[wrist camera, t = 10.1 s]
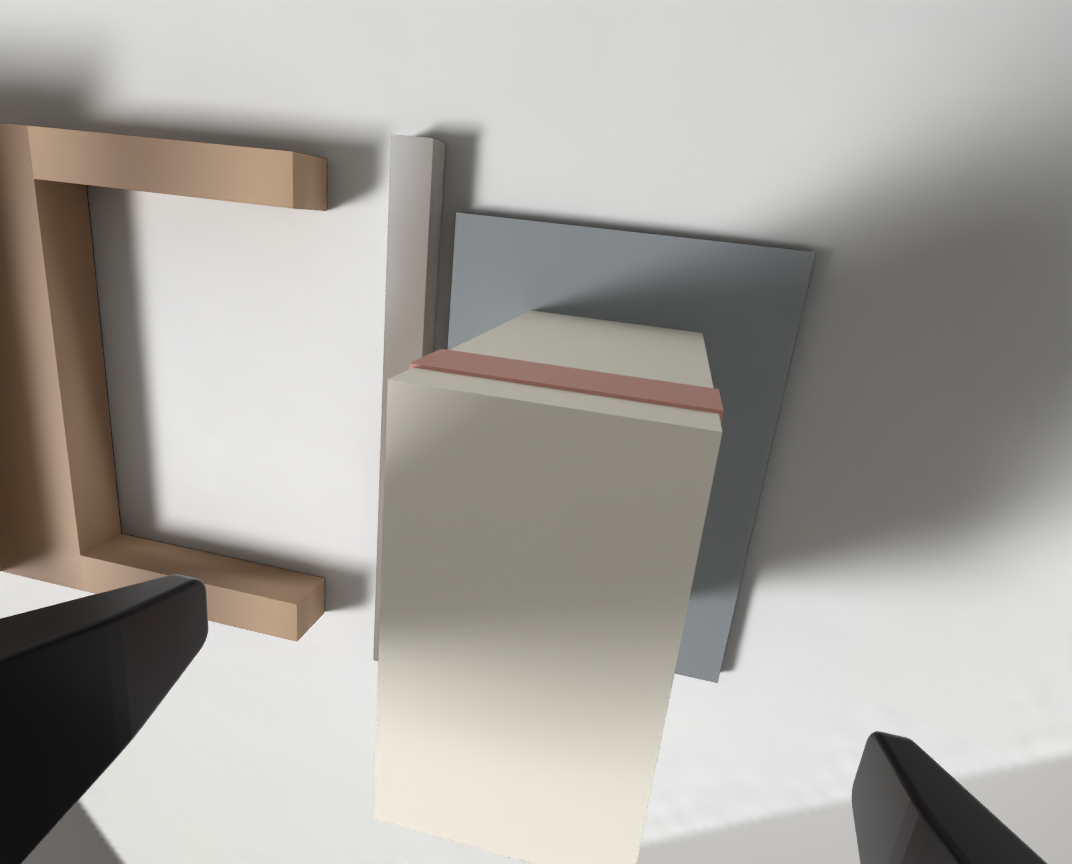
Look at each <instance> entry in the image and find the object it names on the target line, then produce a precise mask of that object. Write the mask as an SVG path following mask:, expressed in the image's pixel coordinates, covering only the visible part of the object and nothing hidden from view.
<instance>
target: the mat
mask: <svg viewBox="0 0 1072 864" xmlns="http://www.w3.org/2000/svg"><path fill="white" fill-rule="evenodd" d="M815 254H816V252H811V251H802V250H793V249H783V248H774V247H765V246H756V245H747V244H738V243H729V242H720V241H711V240H702V239H693V238H684V237H675V236H666V235H657V234H647V233H638V232H629V231H620V230H611V229H602V228H593V227H584V226H575V225H566V224H557V223H548V222H539V221H530V220H521V219H511V218H502V217H493V216H484V215H475V214H466V213H457V212H456V223H455V239H454V255H453V270H452V286H451V302H450V318H449V333H448V349H447V350H450V349H452V348H454V347H456V346H458V345H460V344H462V343H464V342H466V341H469V340H471V339H473V338H475V337H477V336H479V335H481V334H483V333H485V332H487V331H489V330H491V329H493V328H495V327H497V326H500V325H502V324H504V323H506V322H508V321H510V320H512V319H514V318H516V317H518V316H520V315H522V314H524V313H526V312H528V311H531V310H532V311H539V312H547V313H554V314H562V315H570V316H577V317H585V318H592V319H600V320H608V321H615V322H623V323H630V324H638V325H646V326H653V327H661V328H669V329H676V330H684V331H691V332H699V333H703V338H704V343H705V348H706V353H707V358H708V363H709V368H710V373H711V378H712V383H713V388H715V389H719V392H720V397H721V401H722V405H723V410H724V412H723V417H722V422H721V427H722V437H721V442H720V447H719V452H718V457H717V462H716V467H715V472H714V477H713V482H712V487H711V492H710V497H709V502H708V507H707V512H706V517H705V522H704V527H703V532H702V537H701V542H700V547H699V552H698V557H697V562H696V567H695V572H694V577H693V582H692V587H691V592H690V597H689V602H688V607H687V612H686V617H685V622H684V627H683V632H682V637H681V642H680V647H679V653H678V658H677V663H676V668H675V674H680V675H684V676H689V677H693V678H698V679H702V680H706V681H711V682H715V683H718V679H719V674H720V670H721V665H722V661H723V657H724V652H725V648H726V644H727V639H728V635H729V630H730V626H731V622H732V617H733V613H734V608H735V604H736V600H737V595H738V591H739V587H740V582H741V578H742V573H743V569H744V565H745V560H746V556H747V552H748V547H749V543H750V538H751V534H752V530H753V525H754V521H755V517H756V512H757V508H758V503H759V499H760V495H761V490H762V486H763V481H764V477H765V473H766V468H767V464H768V460H769V455H770V451H771V446H772V442H773V438H774V433H775V429H776V425H777V420H778V416H779V411H780V407H781V403H782V398H783V394H784V389H785V385H786V381H787V376H788V372H789V368H790V363H791V359H792V354H793V350H794V346H795V341H796V337H797V333H798V328H799V324H800V319H801V315H802V311H803V306H804V302H805V298H806V293H807V289H808V284H809V280H810V276H811V271H812V267H813V262H814V258H815Z"/></svg>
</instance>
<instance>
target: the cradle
mask: <svg viewBox="0 0 1072 864" xmlns="http://www.w3.org/2000/svg"><path fill="white" fill-rule="evenodd" d="M445 146H446V143H444V142H442V141H439V140H437V139H434V138H426V137H415V136H404V135H393V134H391V151H390V180H389V210H388V240H387V270H386V300H385V330H384V360H383V390H382V420H381V450H380V479H379V509H378V539H377V569H376V599H375V629H374V659H373V660H375V661H378V656H379V625H380V595H381V565H382V535H383V504H384V474H385V444H386V414H387V384H388V379H390V378H392V377H394V376H396V375H398V374H400V373H402V372H404V371H406V370H409V367H410V363H411V362H413V361H415V360H418V359H420V358H422V357H424V356H426V355H428V354H431V353H433V352H434V338H435V320H436V303H437V285H438V268H439V250H440V233H441V215H442V198H443V180H444V163H445ZM86 185H93V186H101V187H110V188H119V189H128V190H136V191H145V192H154V193H163V194H171V195H180V196H189V197H198V198H206V199H215V200H224V201H232V202H241V203H250V204H259V205H267V206H276V207H285V208H294V209H308V210H322V211H327V159H325V158H320V157H315V156H311V155H306V154H302V153H297V152H293V151H282V150H272V149H262V148H252V147H242V146H231V145H221V144H211V143H201V142H191V141H180V140H170V139H160V138H150V137H140V136H129V135H119V134H109V133H99V132H89V131H78V130H68V129H58V128H48V127H38V126H27V125H17V124H7V123H0V571H3V572H7V573H11V574H16V575H20V576H24V577H28V578H32V579H37V580H41V581H45V582H49V583H53V584H58V585H62V586H66V587H70V588H74V589H79V590H83V591H87V592H91V593H95V594H99V593H102V592H106V591H110V590H114V589H118V588H122V587H126V586H130V585H133V584H137V583H141V582H145V581H149V580H153V579H157V578H161V577H164V576H168V575H173V574H178V575H183V576H188V577H192V578H197V579H200V580H201V581H202V582H203V583H204V585H205V587H206V595H207V613H208V620H209V621H213V622H217V623H221V624H226V625H230V626H234V627H238V628H242V629H247V630H251V631H255V632H259V633H263V634H268V635H272V636H276V637H280V638H284V639H289V640H293V641H298V640H299V639H300V638H301V637H302V636H303V635H304V634H305V633H306V632H307V630H308V629H309V628H310V627H311V626H312V625H313V624H314V623H315V622H316V621H317V620H318V619H319V618H320V617H321V616H322V615H323V614H324V590H325V578H322V577H318V576H313V575H308V574H304V573H299V572H295V571H290V570H286V569H281V568H276V567H272V566H267V565H263V564H258V563H253V562H249V561H244V560H240V559H235V558H231V557H226V556H221V555H217V554H212V553H208V552H203V551H198V550H194V549H189V548H185V547H180V546H176V545H171V544H166V543H162V542H157V541H153V540H148V539H143V538H139V537H134V536H130V535H125V534H121V527H120V517H119V507H118V497H117V487H116V477H115V467H114V457H113V447H112V437H111V427H110V417H109V407H108V397H107V387H106V377H105V367H104V357H103V347H102V337H101V327H100V317H99V307H98V297H97V287H96V277H95V267H94V257H93V247H92V237H91V227H90V217H89V207H88V197H87V187H86Z"/></svg>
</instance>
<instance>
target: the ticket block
mask: <svg viewBox="0 0 1072 864" xmlns="http://www.w3.org/2000/svg"><path fill="white" fill-rule="evenodd" d="M723 412H724V410H723V405H722V401H721V397H720V392H719V389H715V388H713V383H712V378H711V373H710V368H709V363H708V358H707V353H706V348H705V343H704V338H703V333H699V332H691V331H684V330H676V329H669V328H661V327H653V326H646V325H638V324H630V323H623V322H615V321H608V320H600V319H592V318H585V317H577V316H570V315H562V314H554V313H547V312H539V311H532V310H531V311H528V312H526V313H524V314H522V315H520V316H518V317H516V318H514V319H512V320H510V321H508V322H506V323H504V324H502V325H500V326H497V327H495V328H493V329H491V330H489V331H487V332H485V333H483V334H481V335H479V336H477V337H475V338H473V339H471V340H469V341H466V342H464V343H462V344H460V345H458V346H456V347H454V348H452V349H450V350H446V349H439V350H437V351H435V352H433V353H431V354H428V355H426V356H424V357H422V358H420V359H418V360H415V361H413V362H411V363H410V367H409V370H406V371H404V372H402V373H400V374H398V375H396V376H394V377H392V378H390V379H388V384H387V414H386V444H385V474H384V504H383V535H382V565H381V595H380V625H379V656H378V686H377V716H376V746H375V777H374V807H373V819H375V820H378V821H382V822H385V823H389V824H393V825H396V826H400V827H403V828H407V829H410V830H414V831H418V832H421V833H425V834H428V835H432V836H435V837H439V838H442V839H446V840H450V841H453V842H457V843H460V844H464V845H467V846H471V847H475V848H478V849H482V850H485V851H489V852H492V853H496V854H500V855H503V856H507V857H510V858H514V859H517V860H521V861H524V862H528V863H532V864H636V863H637V858H638V853H639V848H640V843H641V838H642V833H643V828H644V823H645V818H646V813H647V808H648V803H649V798H650V793H651V788H652V783H653V778H654V773H655V768H656V763H657V758H658V753H659V748H660V743H661V738H662V733H663V728H664V723H665V718H666V713H667V708H668V703H669V698H670V693H671V688H672V683H673V678H674V673H675V668H676V663H677V658H678V653H679V647H680V642H681V637H682V632H683V627H684V622H685V617H686V612H687V607H688V602H689V597H690V592H691V587H692V582H693V577H694V572H695V567H696V562H697V557H698V552H699V547H700V542H701V537H702V532H703V527H704V522H705V517H706V512H707V507H708V502H709V497H710V492H711V487H712V482H713V477H714V472H715V467H716V462H717V457H718V452H719V447H720V442H721V437H722V427H721V422H722V417H723Z"/></svg>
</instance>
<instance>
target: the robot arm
mask: <svg viewBox="0 0 1072 864" xmlns="http://www.w3.org/2000/svg"><path fill="white" fill-rule="evenodd" d="M207 634H208V613H207V595H206V587H205V585H204V583H203V582H202V581H201V580H200V579H197V578H192V577H188V576H183V575H178V574H173V575H168V576H164V577H161V578H157V579H153V580H149V581H145V582H141V583H137V584H133V585H130V586H126V587H122V588H118V589H114V590H110V591H106V592H102V593H99V594H95V595H91V596H87V597H83V598H79V599H75V600H71V601H68V602H64V603H60V604H56V605H52V606H48V607H44V608H40V609H37V610H33V611H29V612H25V613H21V614H17V615H13V616H9V617H6V618H2V619H0V864H22V862H23V861H24V860H25V859H26V858H27V857H28V856H29V855H30V853H31V852H32V851H33V850H34V849H35V848H36V847H37V846H38V845H39V844H40V842H41V841H42V840H43V839H44V838H45V837H46V836H47V835H48V834H49V832H50V831H51V830H52V829H53V828H54V827H55V826H56V825H57V824H58V822H59V821H60V820H61V819H62V818H63V817H64V816H65V815H66V813H67V812H68V811H69V810H70V809H71V808H72V807H73V806H74V805H75V803H76V802H77V801H78V800H79V799H80V798H81V797H82V796H83V795H84V793H85V792H86V791H87V790H88V789H89V788H90V787H91V786H92V785H93V783H94V782H95V781H96V780H97V779H98V778H99V777H100V776H101V774H102V773H103V772H104V771H105V770H106V769H107V768H108V767H109V766H110V764H111V763H112V762H113V761H114V760H115V759H116V758H117V757H118V756H119V754H120V753H121V752H122V751H123V750H124V749H125V747H126V746H127V745H128V744H129V743H130V742H131V740H132V739H133V738H134V737H135V735H136V734H137V733H138V732H139V730H140V729H141V728H142V727H143V725H144V724H145V723H146V721H147V720H148V719H149V717H150V716H151V715H152V713H153V712H154V711H155V709H156V708H157V707H158V705H159V704H160V703H161V701H162V700H163V699H164V697H165V696H166V695H167V693H168V692H169V691H170V689H171V688H172V687H173V685H174V684H175V683H176V681H177V680H178V679H179V677H180V676H181V675H182V673H183V672H184V671H185V669H186V668H187V667H188V665H189V664H190V663H191V661H192V660H193V659H194V657H195V656H196V655H197V653H198V652H199V651H200V649H201V648H202V646H203V644H204V642H205V640H206V638H207ZM852 808H853V815H854V821H855V829H856V835H857V843H858V850H859V856H860V864H1047V863H1046V862H1045V861H1044V860H1043V859H1042V858H1041V857H1039V856H1038V855H1037V854H1036V853H1035V852H1034V851H1033V850H1032V849H1031V848H1030V847H1028V845H1026V844H1025V843H1024V842H1023V841H1022V840H1021V839H1020V838H1019V837H1018V836H1017V835H1015V834H1014V833H1013V832H1012V831H1011V830H1010V829H1009V828H1008V827H1007V826H1006V825H1004V824H1003V823H1002V822H1001V821H1000V820H999V819H998V818H997V817H996V816H995V815H994V814H992V813H991V812H990V811H989V810H988V809H987V808H986V807H985V806H984V805H983V804H981V803H980V802H979V801H978V800H977V799H976V798H975V797H974V796H973V795H972V794H970V793H969V792H968V791H967V790H966V789H965V788H964V787H963V786H962V785H961V784H960V783H959V782H957V781H956V780H955V779H954V778H953V777H952V776H951V775H950V774H949V773H948V772H946V771H945V770H944V769H943V768H942V767H941V766H940V765H939V764H938V763H937V762H936V761H934V760H933V759H932V758H931V757H930V756H929V755H928V754H927V753H926V752H925V751H923V750H922V749H921V748H920V747H919V746H918V745H917V744H916V743H915V742H913V741H912V740H911V739H909V738H906V737H902V736H897V735H893V734H888V733H884V732H879V731H876V732H874V733H872V734H871V735H870V736H869V738H868V740H867V742H866V745H865V748H864V751H863V755H862V758H861V761H860V764H859V767H858V770H857V773H856V776H855V780H854V783H853V788H852Z"/></svg>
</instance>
